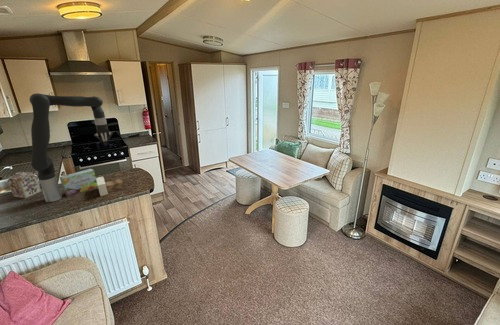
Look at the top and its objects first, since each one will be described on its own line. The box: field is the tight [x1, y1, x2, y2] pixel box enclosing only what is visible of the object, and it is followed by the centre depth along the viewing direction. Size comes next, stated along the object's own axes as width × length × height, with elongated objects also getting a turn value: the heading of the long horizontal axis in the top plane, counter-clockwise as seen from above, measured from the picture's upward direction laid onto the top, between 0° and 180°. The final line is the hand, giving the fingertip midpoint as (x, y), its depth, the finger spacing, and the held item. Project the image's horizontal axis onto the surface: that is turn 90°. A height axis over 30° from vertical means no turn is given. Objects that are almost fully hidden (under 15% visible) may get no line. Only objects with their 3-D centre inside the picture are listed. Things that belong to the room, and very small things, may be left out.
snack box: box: [59, 168, 98, 197], centre depth 182 cm, size 21×6×15 cm, turn 143°
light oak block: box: [105, 178, 126, 193], centre depth 188 cm, size 12×8×6 cm, turn 126°
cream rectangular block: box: [96, 176, 109, 197], centre depth 182 cm, size 5×16×9 cm, turn 35°
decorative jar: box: [7, 171, 42, 199], centre depth 176 cm, size 12×12×18 cm
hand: (106, 145), depth 185 cm, fingers closed
